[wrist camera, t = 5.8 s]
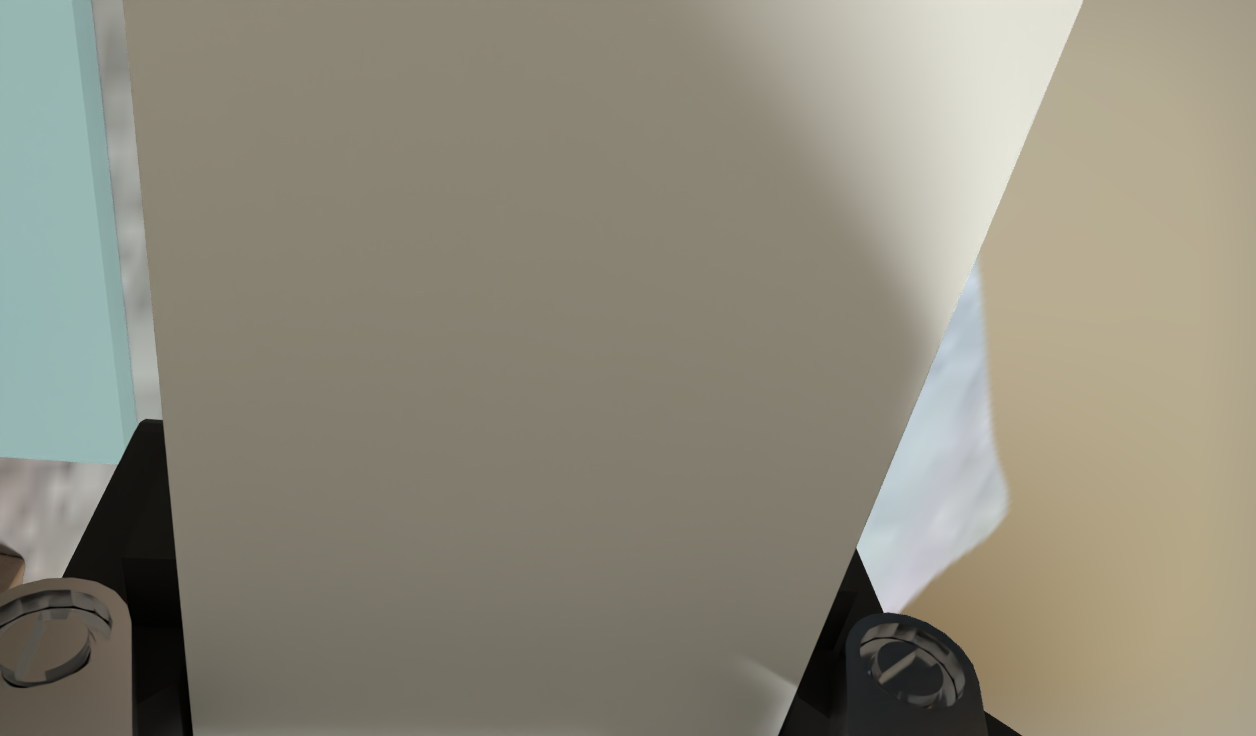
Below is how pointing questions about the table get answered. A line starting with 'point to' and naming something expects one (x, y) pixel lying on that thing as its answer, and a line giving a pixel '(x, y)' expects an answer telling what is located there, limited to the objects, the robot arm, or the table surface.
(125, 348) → the cradle
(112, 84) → the table surface
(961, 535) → the table surface
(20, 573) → the wooden toy
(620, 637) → the white pillar block
